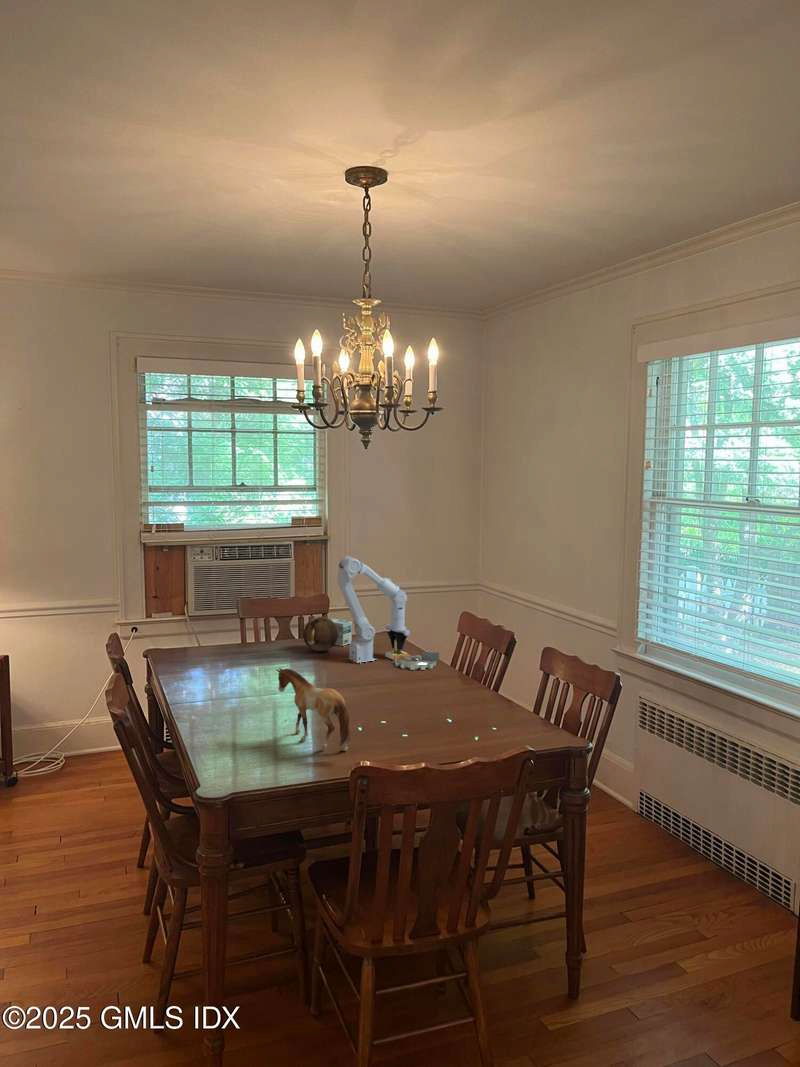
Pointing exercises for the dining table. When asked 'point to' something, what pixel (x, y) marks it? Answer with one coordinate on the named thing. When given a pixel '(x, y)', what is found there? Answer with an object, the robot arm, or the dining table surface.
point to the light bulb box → (343, 631)
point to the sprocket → (418, 661)
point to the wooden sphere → (320, 634)
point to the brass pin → (396, 648)
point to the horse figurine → (317, 705)
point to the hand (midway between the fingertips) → (397, 649)
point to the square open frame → (394, 656)
